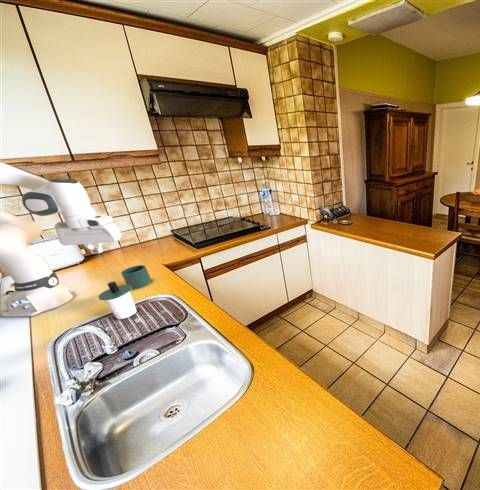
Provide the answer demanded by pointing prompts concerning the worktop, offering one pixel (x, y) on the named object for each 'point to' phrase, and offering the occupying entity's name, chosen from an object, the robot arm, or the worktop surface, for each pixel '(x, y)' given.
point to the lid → (114, 291)
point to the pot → (136, 276)
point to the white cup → (122, 306)
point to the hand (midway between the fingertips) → (97, 252)
